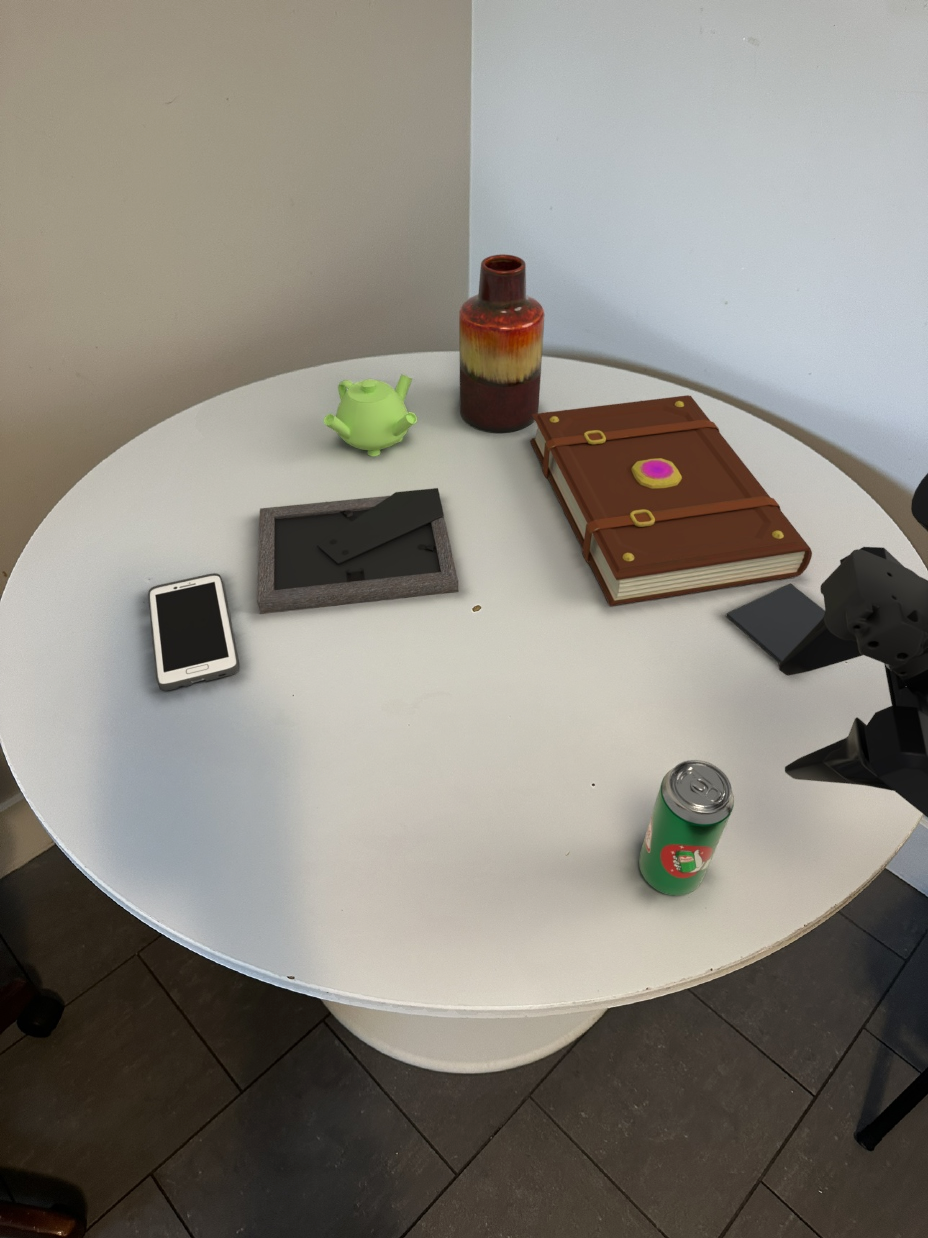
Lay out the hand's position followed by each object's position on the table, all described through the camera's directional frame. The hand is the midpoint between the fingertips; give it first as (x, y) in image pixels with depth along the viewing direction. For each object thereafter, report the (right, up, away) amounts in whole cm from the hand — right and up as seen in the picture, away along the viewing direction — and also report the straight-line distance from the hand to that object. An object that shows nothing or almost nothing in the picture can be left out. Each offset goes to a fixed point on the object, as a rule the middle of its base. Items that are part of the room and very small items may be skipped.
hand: (785, 719), depth 57 cm
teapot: (-34, +30, +50) cm, 68 cm away
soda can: (-6, -13, +8) cm, 16 cm away
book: (0, +21, +41) cm, 46 cm away
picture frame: (-35, +14, +35) cm, 51 cm away
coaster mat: (+11, +6, +26) cm, 29 cm away
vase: (-18, +36, +56) cm, 68 cm away
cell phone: (-50, +6, +26) cm, 57 cm away
